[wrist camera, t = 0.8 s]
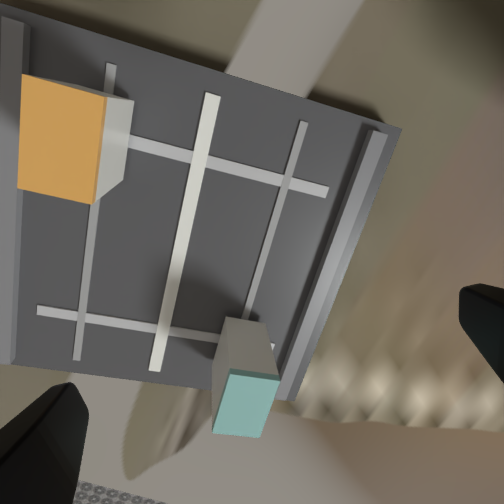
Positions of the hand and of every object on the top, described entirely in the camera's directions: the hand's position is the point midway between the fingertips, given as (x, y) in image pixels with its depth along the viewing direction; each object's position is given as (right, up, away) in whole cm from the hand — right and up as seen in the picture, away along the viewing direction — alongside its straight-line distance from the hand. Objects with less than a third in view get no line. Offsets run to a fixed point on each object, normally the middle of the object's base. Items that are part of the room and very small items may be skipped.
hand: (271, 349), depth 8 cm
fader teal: (-1, -3, +13) cm, 14 cm away
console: (-5, +3, +12) cm, 13 cm away
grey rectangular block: (-7, +8, +8) cm, 13 cm away
